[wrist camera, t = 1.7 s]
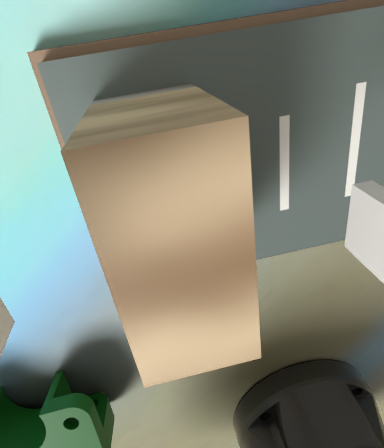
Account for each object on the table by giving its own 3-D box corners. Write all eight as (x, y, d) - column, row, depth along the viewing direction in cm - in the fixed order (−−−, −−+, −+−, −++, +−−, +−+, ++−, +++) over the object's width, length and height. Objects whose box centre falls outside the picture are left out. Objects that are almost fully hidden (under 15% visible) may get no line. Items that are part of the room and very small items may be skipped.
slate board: (388, 218, 26) (406, 231, 24) (111, 280, 24) (110, 298, 22) (430, -13, 18) (462, -20, 16) (32, 52, 16) (21, 52, 15)
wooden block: (212, 245, 21) (261, 358, 14) (138, 261, 21) (144, 387, 13) (191, 83, 16) (248, 115, 9) (92, 100, 16) (60, 151, 8)
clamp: (83, 336, 32) (108, 390, 24) (100, 385, 33) (129, 450, 26) (-62, 404, 26) (-89, 501, 19) (-33, 458, 28) (-47, 568, 20)
